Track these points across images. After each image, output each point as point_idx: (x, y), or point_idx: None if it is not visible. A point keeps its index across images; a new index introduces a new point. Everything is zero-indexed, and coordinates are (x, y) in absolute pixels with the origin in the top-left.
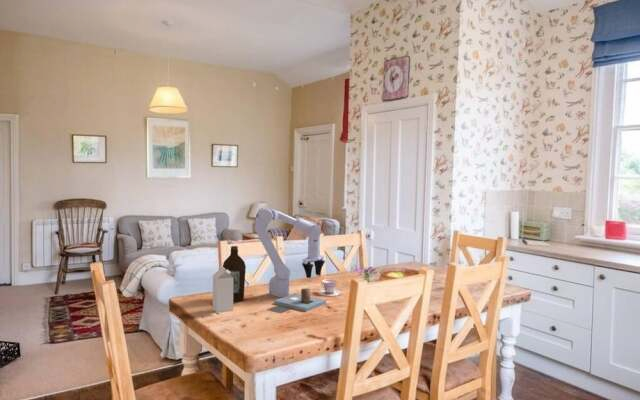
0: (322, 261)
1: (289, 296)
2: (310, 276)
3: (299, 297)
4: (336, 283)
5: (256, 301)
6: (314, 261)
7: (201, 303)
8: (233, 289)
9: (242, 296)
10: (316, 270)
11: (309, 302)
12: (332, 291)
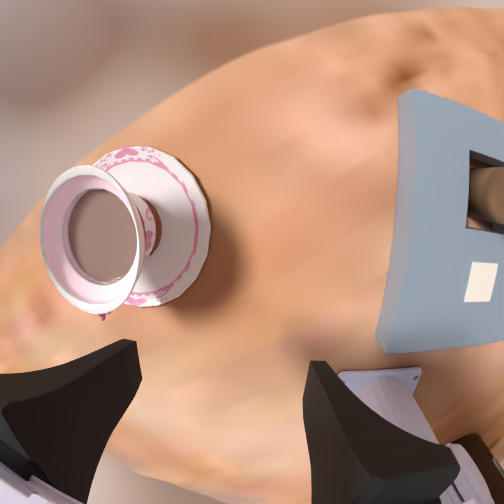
0: (3, 412)
1: (451, 334)
2: (324, 367)
3: (451, 275)
4: (85, 172)
5: (461, 411)
6: (81, 497)
7: None
8: (497, 461)
9: (468, 446)
10: (120, 401)
11: (491, 167)
12: (134, 194)
